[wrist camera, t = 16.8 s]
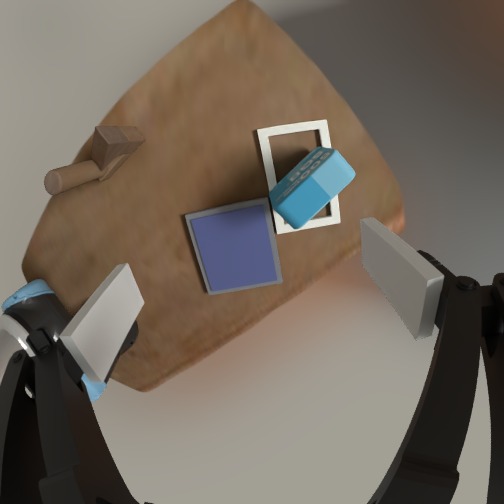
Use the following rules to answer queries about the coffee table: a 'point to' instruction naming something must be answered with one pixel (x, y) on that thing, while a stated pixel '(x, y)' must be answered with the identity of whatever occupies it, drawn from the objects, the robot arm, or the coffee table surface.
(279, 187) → the data package
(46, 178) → the brown wooden mallet
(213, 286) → the ink pad
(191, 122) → the coffee table surface
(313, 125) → the frame
